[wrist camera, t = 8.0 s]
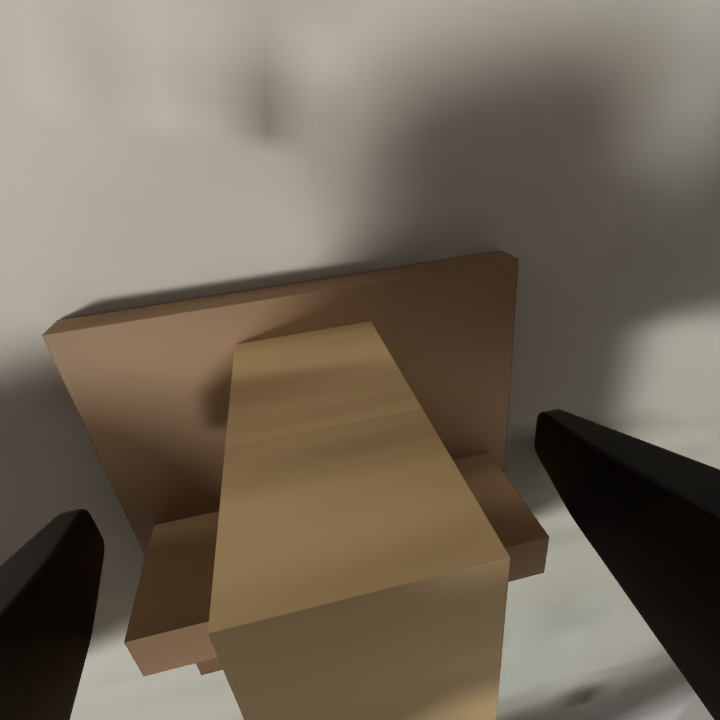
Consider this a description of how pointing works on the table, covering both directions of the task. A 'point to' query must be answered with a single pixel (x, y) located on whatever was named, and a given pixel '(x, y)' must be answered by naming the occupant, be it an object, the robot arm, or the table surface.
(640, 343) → the table surface
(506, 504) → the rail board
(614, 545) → the robot arm
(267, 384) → the tan notched block
